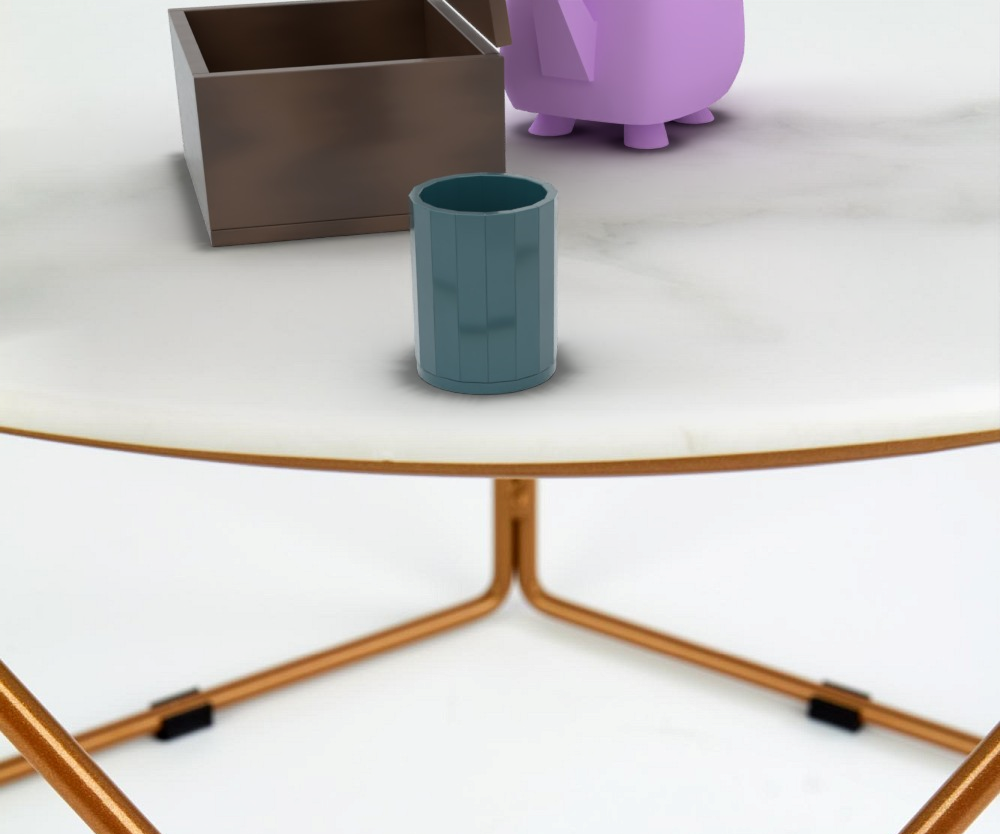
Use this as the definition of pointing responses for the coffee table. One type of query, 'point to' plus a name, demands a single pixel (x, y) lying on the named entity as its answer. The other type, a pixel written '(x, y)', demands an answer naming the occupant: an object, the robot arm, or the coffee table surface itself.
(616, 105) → the purple piggy bank
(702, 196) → the coffee table surface
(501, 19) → the lid
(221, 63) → the brown wooden box
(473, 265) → the cup
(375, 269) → the coffee table surface
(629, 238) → the coffee table surface
